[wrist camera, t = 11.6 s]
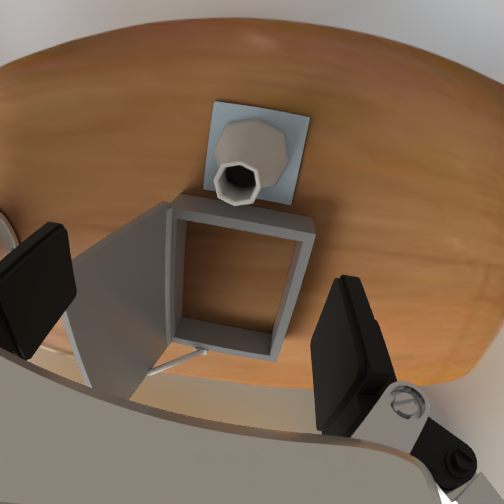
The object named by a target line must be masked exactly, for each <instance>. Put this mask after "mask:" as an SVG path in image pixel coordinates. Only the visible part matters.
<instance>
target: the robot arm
mask: <svg viewBox="0 0 504 504" xmlns="http://www.w3.org/2000/svg"><path fill="white" fill-rule="evenodd" d="M76 294H77V288H76V283H75V277H74V272H73V266H72V260H71V254H70V247H69V240H68V233H67V230H66V229H65V228H64V226H63V225H62V224H59V223H54V222H48V223H46V224H45V225H44V226H42V227H41V228H40V229H38V230H37V231H36V232H34V233H33V234H32V235H31V236H29V237H28V238H27V239H26V240H24V241H23V242H22V243H21V244H19V242H18V239H17V236H16V234H15V232H14V230H13V228H12V226H11V224H10V223H9V221H8V220H7V219H6V217H5V216H4V215H3V214H2V213H1V212H0V504H504V500H503V499H502V498H501V497H500V495H499V494H498V493H497V491H496V490H495V489H494V487H493V486H492V485H491V483H490V482H489V481H488V480H487V479H486V477H485V476H484V475H483V473H482V472H481V473H479V474H477V473H476V469H477V459H476V456H475V454H474V452H473V450H472V449H471V448H470V447H469V446H468V445H467V444H466V443H464V442H463V441H461V440H460V439H459V438H457V437H456V436H454V435H453V434H452V433H450V432H449V431H448V430H446V429H445V428H443V427H442V426H441V425H439V424H438V423H437V422H435V421H434V420H432V419H431V418H430V417H428V416H429V413H430V402H429V400H428V397H427V396H426V394H425V393H424V392H423V390H421V389H420V388H419V387H418V386H416V385H414V384H412V383H410V382H405V381H397V379H396V376H395V373H394V369H393V366H392V363H391V360H390V357H389V353H388V350H387V347H386V344H385V341H384V338H383V335H382V332H381V330H380V327H379V324H378V322H377V321H376V320H375V319H374V316H373V313H372V310H371V308H370V305H369V302H368V299H367V297H366V294H365V291H364V288H363V286H362V283H361V281H360V279H359V278H358V277H353V276H347V275H341V277H340V279H338V278H335V279H334V281H333V284H332V287H331V289H330V292H329V295H328V297H327V300H326V303H325V305H324V308H323V311H322V313H321V316H320V318H319V321H318V323H317V326H316V328H315V331H314V333H313V336H312V339H311V345H310V348H311V360H312V372H313V384H314V398H315V412H316V426H317V430H318V431H322V435H318V434H310V433H297V432H287V431H277V430H268V429H262V428H254V427H247V426H241V425H234V424H228V423H222V422H217V421H211V420H206V419H201V418H195V417H191V416H187V415H183V414H177V413H174V412H169V411H166V410H162V409H158V408H154V407H150V406H147V405H143V404H140V403H136V402H133V401H130V400H126V399H123V398H120V397H117V396H114V395H111V394H108V393H105V392H102V391H99V390H96V389H93V388H90V387H88V386H85V385H82V384H79V383H77V382H75V381H72V380H69V379H67V378H64V377H62V376H60V375H57V374H55V373H52V372H50V371H48V370H46V369H43V368H41V367H39V366H37V365H34V364H32V363H30V362H28V361H27V360H28V359H31V358H32V356H33V355H34V353H35V352H36V350H37V349H38V348H39V346H40V345H41V343H42V342H43V340H44V339H45V338H46V336H47V335H48V333H49V332H50V331H51V329H52V328H53V327H54V325H55V324H56V323H57V321H58V320H59V319H60V317H61V316H62V315H63V313H64V312H65V311H66V309H67V308H68V307H69V305H70V304H71V303H72V302H73V300H74V299H75V297H76Z"/></svg>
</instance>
